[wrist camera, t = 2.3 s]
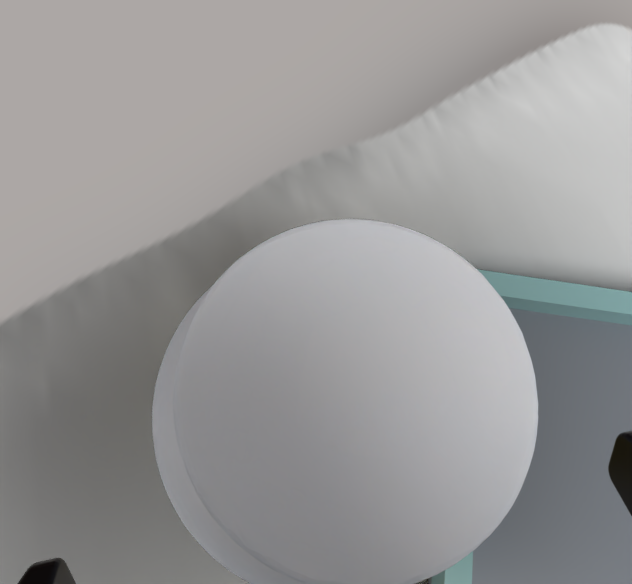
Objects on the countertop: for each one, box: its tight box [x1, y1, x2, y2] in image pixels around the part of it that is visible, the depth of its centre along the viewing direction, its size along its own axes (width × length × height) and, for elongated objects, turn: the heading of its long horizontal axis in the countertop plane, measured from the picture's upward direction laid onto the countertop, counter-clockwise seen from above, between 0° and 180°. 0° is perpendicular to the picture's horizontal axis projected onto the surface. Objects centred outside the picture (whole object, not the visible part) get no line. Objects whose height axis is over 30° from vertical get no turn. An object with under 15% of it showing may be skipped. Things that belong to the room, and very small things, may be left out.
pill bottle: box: [152, 219, 538, 584], centre depth 12 cm, size 6×6×12 cm
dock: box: [428, 269, 632, 584], centre depth 18 cm, size 11×11×2 cm
